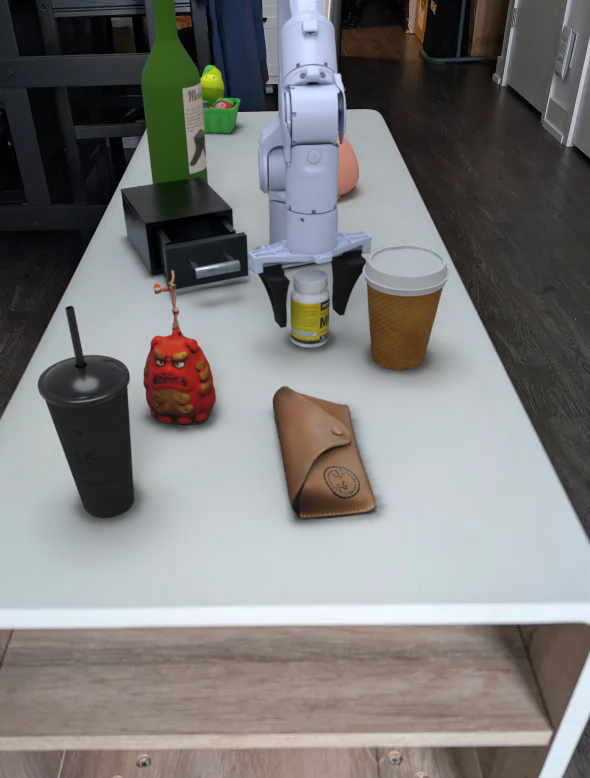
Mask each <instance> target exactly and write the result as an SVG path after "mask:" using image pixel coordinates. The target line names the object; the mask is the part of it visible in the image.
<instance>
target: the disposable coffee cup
mask: <svg viewBox="0 0 590 778" xmlns="http://www.w3.org/2000/svg"><path fill="white" fill-rule="evenodd" d="M447 263H448V261H447V259H446V257H445V256H444V255H443V254H442V253H441V252H440V251H438V250H435V249H433V248H430V247H426V246H422V245H418V244H417V245H416V244H392V245H386V246H381V247H380V248H377V249H374V250H373V251H371V252H370V253H369V256H368V257H367V259H366V264H365V265H364V267H363V272H362V275H363V277H364V281H365V282H366V292H367V308H368V309H367V310H368V323H369V336H370V337H369V338H370V349H371V350H370V352H371V354H370V355H371V359H372V361H373V362H374V363H375V364H377V365H378V366H381V367H383V368H385V369H388V370H389V369H390V370H395V371H398V370H399V371H403V370H410V369H414V368H417V367H419V366H420V365H421V364H423V363H424V361H425V357H426V354H427V350H428V346H429V341H430V338H431V334H432V331H433V327H434V323H435V319H436V316H437V312H438V308H439V304H440V301H441V296H442V292H443V289H444V286H445V285H446V283H447V281H448V279H449V278H450V275H451V273H450V269H449V267H448V264H447Z"/></svg>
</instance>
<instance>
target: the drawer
mask: <svg viewBox="0 0 590 778" xmlns="http://www.w3.org/2000/svg"><path fill="white" fill-rule="evenodd" d="M152 237H153V245H154V253H155V260H156V261H157V263H158V264H159V266H160V267H161V269H162V270H163V271H164V275H165V280H166V288H167V287H168V286H169V284H168V283H169V282H170V281H171V279H172V274H171V270H172V271H174V274H175V276H174V282H173V283H174V284H176V290H179V289H185V288H190V287H196V286H203V285H206V284H212V283H217V282H223V281H229V280H233V279H238V278H244V277H249V256H248V252H249V251H248V235H247V234H246V233H245V231H242V232H237V231H236V229H235V228H234V226H233V227H232V226H231V225H230V224H229V223H228V222H227V221H226V220H225V219H224V218H223V216H220V217H214V218H208V219H202V220H196V221H189V222H183V223H177V224H171V225H165V226H159V227H153V228H152Z"/></svg>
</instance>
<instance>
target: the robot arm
mask: <svg viewBox="0 0 590 778" xmlns="http://www.w3.org/2000/svg"><path fill="white" fill-rule="evenodd" d="M276 12H277V13H276V19H277V20H276V21H277V24H276V25H277V26H276V27H277V28H276V29H277V31H276V32H277V94H278V96H277V99H278V100H277V101H278V103H277V104H278V116H277V117H275V119H274V120H272V121H271V122H270V123H269V124H268V125H266V126H265V127H264V128H263V129H262V130H261V131H260V135H259V136H258V151H257V159H258V160H257V161H258V182H259V183H258V184H259V190H260V191H261V192H262V193H263V194H268V214H269V215H268V216H269V217H268V218H269V219H268V220H269V221H268V222H269V243H268V244H262V245H261V246H260V248H258V249H254V250H249V251H247V252H248V269H249V270H250V271H251V272H252V273H253V274H254V275H258V277H259V279H260V281H261V282H262V284H263V286H264V289H265V291H266V294H267V296H268V299H269V302H270V305H271V308H272V312H273V317H274V322H275V323H276V324H277V325H278V326H279V328H280V329H281V328H282V329H283V328H287V326H288V325H287V324H288V309H287V308H288V307H287V305H288V303H287V302H288V292H289V286H290V283H291V280H290V279H289V278H288V277H287V276H286V275H285V269H288V268H293V267H298V266H304V265H309V264H317V265H322V264H326V263H327V264H328V263H330V265H331V273H332V274H331V275H332V291H331V292H332V293H331V305H332V306H331V307H332V310H333V311H334V312H335V313H336V314H337V315H338V316H339V317H342V316H344V315H345V313H346V310H347V307H348V304H349V300H350V297H351V295H352V292H353V290H354V287H355V285H356V284H357V282H358V280H359V279H360V277H361V275H363V267H364V265H365V264H366V263H367V259H366V258H365V257H364V256H363V255H365V254H366V255H367V254H371V253H372V236H371V235H370V234H369V233H367V232H366V231H365V230H362V231H353V232H338V227H339V226H338V224H339V223H338V222H339V211H338V199H337V197H338V168H339V145H338V144H337V143H336V141H337V133H338V136H339V142H340V144H341V145H342V144H343V140H344V136H345V135H346V129H347V100H346V94H345V88H344V84H343V81H342V75H341V73H338V62H337V61H338V59H337V46H336V32H335V27H334V24H333V23H332V21H331V20H330V19H329V18H328V17H326V16H325V15H323V0H276Z"/></svg>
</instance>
